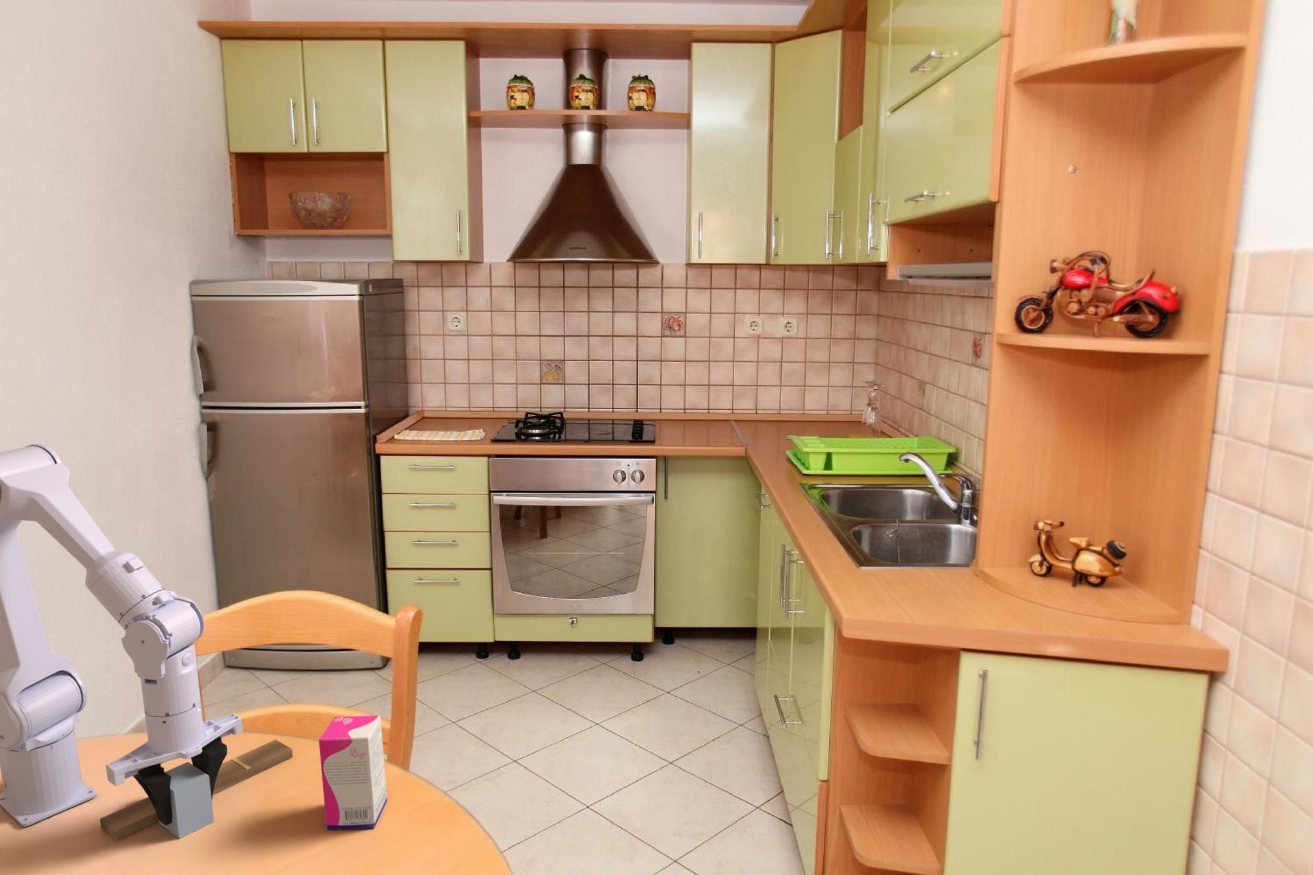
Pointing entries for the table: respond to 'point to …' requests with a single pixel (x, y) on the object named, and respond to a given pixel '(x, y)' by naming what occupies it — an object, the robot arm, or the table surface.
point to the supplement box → (353, 772)
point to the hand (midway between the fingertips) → (185, 811)
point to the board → (227, 776)
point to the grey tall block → (189, 800)
